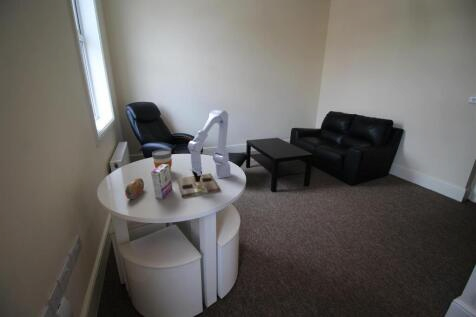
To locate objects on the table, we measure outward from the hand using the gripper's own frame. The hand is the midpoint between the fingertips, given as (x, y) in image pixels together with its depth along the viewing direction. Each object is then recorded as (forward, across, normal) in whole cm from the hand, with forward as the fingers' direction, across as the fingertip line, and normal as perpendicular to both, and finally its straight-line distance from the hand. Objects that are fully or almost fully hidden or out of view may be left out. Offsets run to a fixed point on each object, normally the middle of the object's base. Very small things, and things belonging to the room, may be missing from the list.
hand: (197, 181), depth 132 cm
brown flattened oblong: (+3, -3, -35) cm, 35 cm away
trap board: (+3, -1, 0) cm, 3 cm away
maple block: (+1, +8, 0) cm, 8 cm away
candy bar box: (+3, +2, -20) cm, 20 cm away
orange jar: (+3, -30, -18) cm, 35 cm away
